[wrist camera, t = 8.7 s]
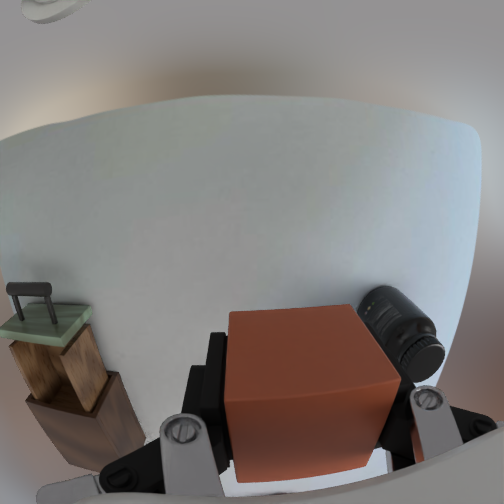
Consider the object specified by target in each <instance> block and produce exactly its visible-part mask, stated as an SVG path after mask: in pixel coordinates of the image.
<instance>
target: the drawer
mask: <svg viewBox="0 0 504 504" xmlns="http://www.w3.org/2000/svg"><path fill="white" fill-rule="evenodd" d="M6 291H7V293H8V295H12V299H13V302H14V305H15V308H16V311H17V313H16V314H15V315H14V316H13V317H12V318H10V319H9V320H8V321H7V322H6V323H4V324H3V325H2V326H1V327H0V336H1V337H2V338H7V339H13V340H15V341H14V342H13V343H12V344H11V345H10V346H9V348H10V350H11V353H12V355H13V357H14V359H15V361H16V364H17V366H18V368H19V370H20V372H21V374H22V376H23V378H24V380H25V382H26V383H27V385H28V387H29V389H30V391H31V393H32V395H33V396H34V398H35V400H37V401H40V402H44V403H48V404H51V405H55V406H59V407H64V408H68V409H72V410H77V411H82V412H87V413H92V414H93V412H94V410H95V408H96V406H97V404H98V402H99V400H100V398H101V396H102V394H103V392H104V390H105V388H106V386H107V384H108V382H109V381H110V380H109V378H108V375H107V373H106V370H105V367H104V365H103V362H102V359H101V357H100V354H99V351H98V348H97V345H96V342H95V339H94V336H93V333H92V330H91V326H90V324H84V323H85V322H86V321H87V320H88V318H89V317H90V316H91V315H92V310H91V307H90V306H82V305H53V304H52V301H51V297H50V295H51V293H52V286H51V284H50V283H49V282H9V283H8V284H7V286H6ZM18 296H36V297H44V299H45V302H46V304H32V303H29V304H27V305H26V306H25V307H24V308H22V309H21V306H20V303H19V300H18Z"/></svg>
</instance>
